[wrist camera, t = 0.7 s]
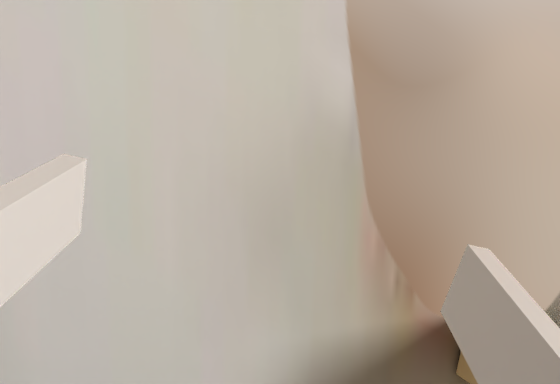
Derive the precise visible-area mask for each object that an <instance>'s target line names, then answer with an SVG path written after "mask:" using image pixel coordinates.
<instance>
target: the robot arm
mask: <svg viewBox="0 0 560 384" xmlns="http://www.w3.org/2000/svg"><path fill="white" fill-rule="evenodd" d="M86 163H87V159H85V158H81V157H76V156H72V155H67V154H62V155H60V156H58V157H57V158H55V159H53V160H51V161H49V162H47V163H45V164H43V165H41V166H39V167H37V168H35V169H33V170H31V171H29V172H27V173H26V174H24V175H22V176H20V177H18V178H16V179H14V180H12V181H10V182H8V183H6V184H4V185H2V186H0V307H1V306H2V305H3V304H4V303H5V302H6V301H8V300H9V299H10V298H11V297H12V296H13V295H14V294H15V293H16V292H17V291H18V290H19V289H21V288H22V287H23V286H24V285H25V284H26V283H27V282H28V281H29V280H30V279H31V278H32V277H34V276H35V275H36V274H37V273H38V272H39V271H40V270H41V269H42V268H43V267H44V266H45V265H47V264H48V263H49V262H50V261H51V260H52V259H53V258H54V257H55V256H56V255H57V254H58V253H60V252H61V251H62V250H63V249H64V248H65V247H66V246H67V245H68V244H69V243H70V242H71V241H73V240H74V239H75V238H76V237H77V236H78V235H79V234H80V233H81V222H82V210H83V198H84V187H85V175H86ZM441 313H442V315H443V317H444V319H445V321H446V323H447V325H448V327H449V329H450V331H451V333H452V335H453V336H454V338H455V340H456V342H457V344H458V346H459V348H460V350H461V352H462V354H463V356H464V358H465V360H466V362H467V364H468V366H469V367H470V369H471V371H472V373H473V375H474V377H475V379H476V381H477V383H478V384H560V328H559V327H558V326H557V325H556V324H555V323H554V321H553V320H552V319H551V318H550V317H549V316H548V315H547V314H546V312H545V311H544V310H543V309H542V308H541V307H540V306H539V305H538V303H537V302H536V301H535V300H534V299H533V298H532V297H531V296H530V294H529V293H528V292H527V291H526V290H525V289H524V288H523V287H522V285H521V284H520V283H519V282H518V281H517V280H516V279H515V278H514V276H513V275H512V274H511V273H510V272H509V271H508V270H507V269H506V268H505V266H504V265H503V264H502V263H501V262H500V261H499V260H498V258H497V257H496V256H495V255H494V254H493V253H492V252H491V251H490V249H487V248H482V247H478V246H473V245H469V244H468V245H467V247H466V250H465V252H464V255H463V257H462V259H461V262H460V265H459V267H458V269H457V272H456V274H455V277H454V279H453V282H452V284H451V287H450V289H449V292H448V294H447V296H446V299H445V301H444V304H443V306H442V309H441Z"/></svg>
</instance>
